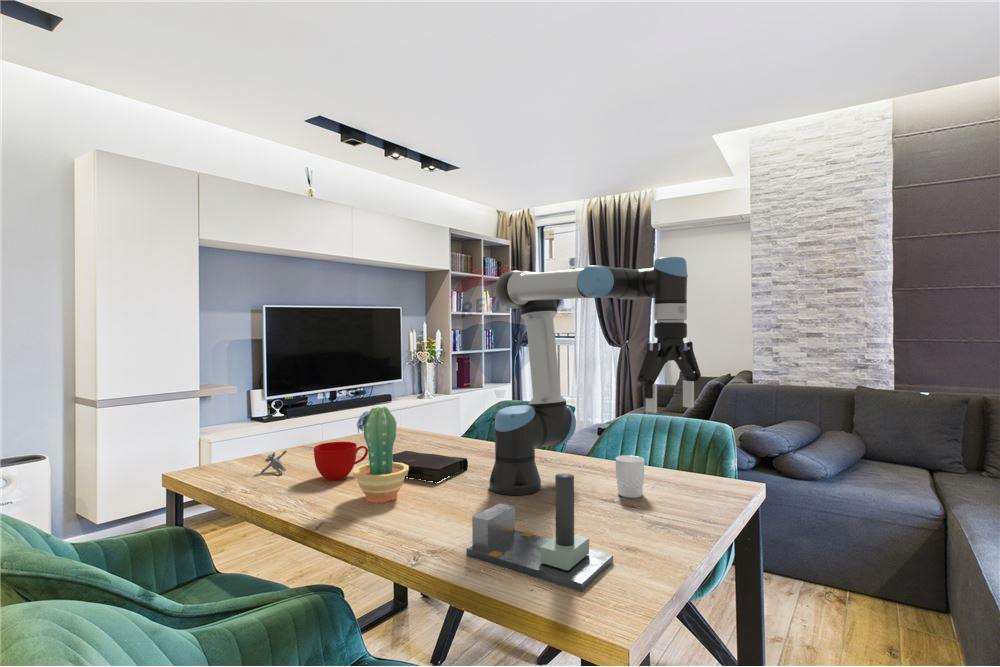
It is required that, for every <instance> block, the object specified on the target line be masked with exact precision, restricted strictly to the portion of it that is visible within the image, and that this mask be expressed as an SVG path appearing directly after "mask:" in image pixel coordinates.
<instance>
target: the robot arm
mask: <svg viewBox="0 0 1000 667" xmlns="http://www.w3.org/2000/svg"><path fill="white" fill-rule="evenodd" d="M653 263H654V264H653V267H650V268H639V269H638V268H637V269H634V268H624V267H615V266H614V267H613V266H606V265H602V264H594V265H592V264H591V265H586V266H585V267H583V268H575V269H573V268H571V269H564V270H555V271H546V272H545V271H541V272H538V271H536V272H535V271H523V270H522V271H521V270H510V271H506V272H505V273H502V274H501V275H500V276H499V277H498V278H497V281H496V282H495V288H494V290H495V291H494V293H495V296H496V298H497V300H498V301H499V303H501V304H502V306H505V307H507V308H510V309H513V310H514V309H516V310H519V311H520V318H522V319H523V320H524V321H525V324H526V325H525V326H526V335H527V336H526V337H527V345H528V355H529V356H528V357H529V366H530V377H531V378H530V380H531V387H532V388H531V390H532V398H531V399H530V401H529V402H528V404H518V405H511V406H507V407H503V408H501V409H499V410H497V412H496V414H495V416H494V418H495V419H494V421H495V422H494V424H493V425H494V426H493V427H494V441H495V442H494V446H495V447H494V449H495V452H494V454H495V455H494V457H495V458H494V460H495V461H494V465H493V468H492V470H491V474H490V477H489V483H488V484H489V489H490V490H491V491H492V492H494V493H496V494H501V495H507V496H525V495H531V494H534V493H537V492H539V491H540V490H541V489H542V479H541V477H540V472H539V470H538V467H537V463H536V453H535V452H536V449H540V448H546V447H549V446H551V447H552V446H559V445H561V444H563V443H567V442H568V441H570V440H571V438H572V437H573V436H574V434H575V431H576V427H577V419H576V416H575V412H574V411H573V410H572V408H571V407H570V406H568V405H567V399H566V398H565V397H564V396H562V395H561V384H560V377H559V376H560V375H559V374H560V373H559V365H558V354H557V345H556V335H555V323H554V318H555V317H556V316H557V315H558V308H559V307H560V306H561V305H562V301H563V300H569V299H571V300H572V299H594V298H595V299H596V298H597V299H598V298H603V299H604V298H607V299H608V298H609V299H610V298H611V299H613V298H614V299H618V300H627V301H628V300H629V301H633V300H640V299H641V300H643V299H654V300H653V302H654V303H653V305H654V307H653V319H654V321H656V322H654V325H653V328H654V329H653V330H654V331H653V333H654V334H653V335H654V338H656V339H657V340H656V341H648V342H647V345H646V353H645V356H644V359H643V361H642V364H641V366H640V367H641V368H640V370H639V373H638V377H637V381H638V382H640V384H641V385H644V398H645V412H646V413H653V414H657V413H658V396H657V395H658V384H655V383H656V381H657V379H658V377H659V376H660V373H661V372H662V370H663V368H664V366H665V364H666V363H668V362H669V361H670V362H671V361H674V362H675V363H676V366H677V367H678V369H679V371H680V372H681V374H682V376H683V378H684V380H682V407H684V408H690V409H693V408H695V392H696V391H695V390H696V389H695V388H696V387H695V386H696V384H695V383H696V382H699V380H700V379H701V377H702V374H701V371H700V369H699V368H700V367H699V365H698V361H697V358H696V356H695V353H694V346H693V345H694V343H693V342H692V341H688V340H686V341H685V340H684V339H686V338H687V337H688V324H687V322H685V321H687V319H688V314H687V313H688V312H687V311H688V309H687V307H688V306H687V305H688V304H687V302H688V300H687V299H688V298H687V297H688V295H687V294H688V268H687V267H688V266H687V260H686V258H684V257H681V256H663V257H658V258H655V260H654V262H653Z"/></svg>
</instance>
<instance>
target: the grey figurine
mask: <svg viewBox="0 0 1000 667" xmlns="http://www.w3.org/2000/svg"><path fill="white" fill-rule="evenodd" d="M287 452H288V451H287V450H286V449H285V450H284V451H282V454H280V455H278V456H277V457H276V451H275V452H272V453H271V454H268V455H267V456H266V458H265V459H264V462H266V463H268V462H269V464H268V465H267V466H265V468H263V469H261V471H260V473H261V474H263V473H265V472H266V471H267V470H268V469H269V468H270V467H271V468H272V469H273V470H275V471H276V472H277V474H278V475H279V476H281V475H283V472H286V471H287V468H286V467H285V466H284V465H283V464H282V461H281V458H282V457H283V456H285V454H286V453H287Z"/></svg>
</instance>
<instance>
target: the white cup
mask: <svg viewBox="0 0 1000 667" xmlns="http://www.w3.org/2000/svg"><path fill="white" fill-rule="evenodd" d="M615 474H616V475H615V476H616V477H615V478H616V485H617V486H616V487H617V495H619V496H621V497H624V498H631V499H632V498H634V499H635V498H640V497H643V492H644V491H643V490H644V489H643V488H644V476H645V458H643V457H642V456H638V455H630V454H627V455H624V454H623V455H618V456H616V457H615Z"/></svg>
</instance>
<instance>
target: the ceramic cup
mask: <svg viewBox="0 0 1000 667" xmlns="http://www.w3.org/2000/svg"><path fill="white" fill-rule="evenodd" d="M366 446H367V445H366ZM366 446H365V445H360V446H358V445H357V443H355V442H352V441H331V442H324V443H320V444H317V445H315V446H314V447H313V458H314V464H315V467H316V469H317V472H318V473H319V474H320V475H321V476H322V478H324V480H326V481H333V480H334V481H340V480H341V481H342V480H344V479H346V478H347V477H348V475H349V474H350V473H351V472H352V471H353V470H354V468H355V465H357V464H359V463H361V462H362V461H364V460H365V459H366V458H367V456H368V455H369V454H368V446H367V447H366ZM362 449H364V450H365V452H364V454H363V456H362V457H361V458H359V459H358V460H357V453H358V451H360V450H362Z"/></svg>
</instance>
